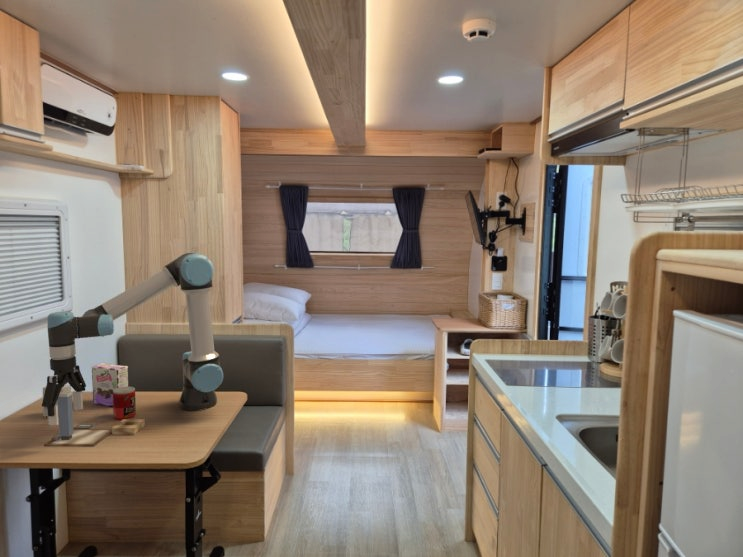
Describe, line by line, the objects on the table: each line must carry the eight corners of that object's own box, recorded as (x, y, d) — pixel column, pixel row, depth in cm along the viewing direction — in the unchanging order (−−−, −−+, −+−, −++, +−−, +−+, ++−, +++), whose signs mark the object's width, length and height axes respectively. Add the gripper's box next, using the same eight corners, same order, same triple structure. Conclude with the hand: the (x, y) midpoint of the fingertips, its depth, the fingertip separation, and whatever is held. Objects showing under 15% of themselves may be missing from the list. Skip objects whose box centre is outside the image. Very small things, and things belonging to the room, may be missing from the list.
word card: (95, 424, 179) (95, 423, 179) (89, 428, 175) (89, 427, 175) (79, 424, 179) (79, 423, 178) (73, 428, 175) (73, 427, 174)
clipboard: (114, 430, 173) (114, 427, 173) (94, 446, 160) (93, 443, 160) (67, 430, 173) (67, 427, 173) (43, 446, 160) (43, 442, 160)
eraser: (73, 437, 166) (71, 391, 164) (69, 440, 163) (67, 394, 162) (63, 437, 166) (61, 391, 164) (59, 440, 163) (57, 394, 162)
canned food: (127, 421, 182) (126, 393, 181) (109, 419, 184) (107, 391, 183) (140, 413, 190) (139, 387, 189) (123, 412, 191) (122, 385, 190)
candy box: (92, 404, 200) (90, 366, 198) (103, 399, 205) (102, 362, 204) (118, 407, 196) (117, 369, 194) (129, 403, 201) (128, 365, 200)
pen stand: (144, 425, 178) (144, 419, 178) (134, 434, 170) (134, 428, 170) (123, 425, 178) (123, 419, 177) (112, 434, 170) (111, 427, 170)
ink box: (42, 417, 185) (41, 387, 184) (52, 412, 190) (51, 383, 189) (63, 418, 184) (61, 388, 183) (72, 413, 189) (71, 384, 188)
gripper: (74, 348, 174) (77, 403, 176) (25, 367, 149) (30, 431, 152) (94, 348, 174) (97, 403, 176) (49, 367, 150) (53, 431, 152)
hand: (66, 416), depth 164 cm, fingers open, 13 cm apart
